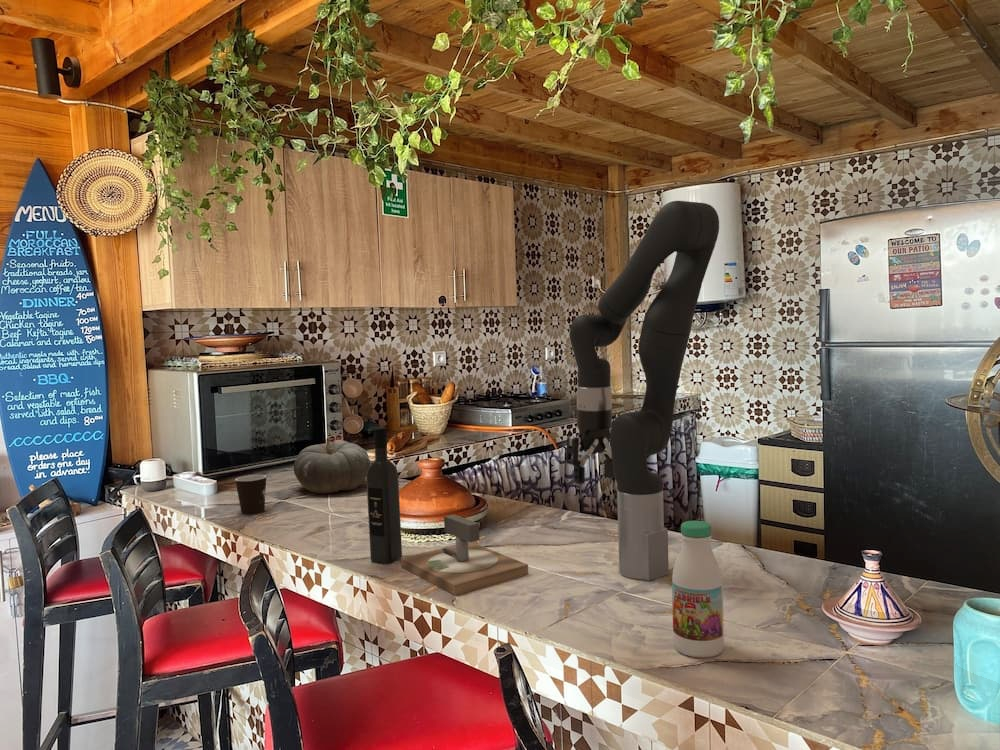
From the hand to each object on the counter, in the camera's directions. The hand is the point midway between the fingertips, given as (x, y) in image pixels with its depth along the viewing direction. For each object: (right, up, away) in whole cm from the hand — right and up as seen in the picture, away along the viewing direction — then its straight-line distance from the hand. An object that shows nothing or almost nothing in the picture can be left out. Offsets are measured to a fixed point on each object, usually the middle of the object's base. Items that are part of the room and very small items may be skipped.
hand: (594, 480), depth 161 cm
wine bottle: (-46, -19, +5) cm, 50 cm away
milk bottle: (+11, -20, -45) cm, 50 cm away
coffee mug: (-93, -17, +56) cm, 109 cm away
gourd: (-75, -15, +81) cm, 111 cm away
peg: (-29, -16, -3) cm, 34 cm away
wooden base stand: (-29, -19, -4) cm, 34 cm away
